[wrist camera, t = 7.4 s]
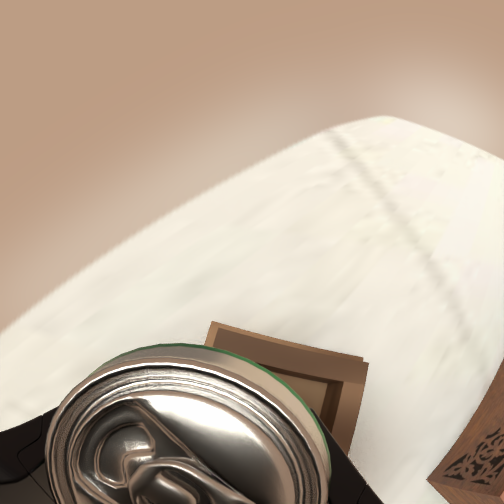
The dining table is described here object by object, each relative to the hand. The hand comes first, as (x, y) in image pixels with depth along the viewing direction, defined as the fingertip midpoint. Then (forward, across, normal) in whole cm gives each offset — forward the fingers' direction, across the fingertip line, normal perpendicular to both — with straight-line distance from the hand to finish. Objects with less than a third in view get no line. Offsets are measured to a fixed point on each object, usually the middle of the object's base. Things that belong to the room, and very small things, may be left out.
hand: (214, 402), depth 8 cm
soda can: (+4, 0, +6) cm, 7 cm away
